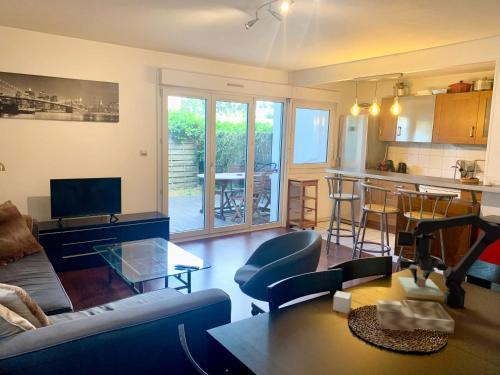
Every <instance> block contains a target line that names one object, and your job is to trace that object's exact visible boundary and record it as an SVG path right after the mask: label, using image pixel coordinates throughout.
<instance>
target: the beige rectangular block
mask: <svg viewBox="0 0 500 375" xmlns="http://www.w3.org/2000/svg"><path fill="white" fill-rule="evenodd" d="M401 307H402V302H400V301H397V300H396V301H395V300H383V299H382V300H381V299H376V310H377V309H378V311H383V312H396V313H401Z"/></svg>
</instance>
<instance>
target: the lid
mask: <svg viewBox="0 0 500 375" xmlns="http://www.w3.org/2000/svg"><path fill="white" fill-rule="evenodd" d="M397 281H398V282H399V283H400V284H401V286H402V288H403V289H404V291H405V292H406V293H407V294H409V295H414V296H415V295H416V296H417V295H418V296H428V297H430V296H431V297H441V296H442V297H444V291H442V290H441V289H440V288H439V287H438V285H436V284H435V283H434V282H433V280H432V279H431V278H427V280H426V279H425V278H424V277H423V274H418V273H417V282H416V283H415V282H414V279H413V277H405V276H397Z"/></svg>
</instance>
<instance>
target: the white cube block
mask: <svg viewBox="0 0 500 375" xmlns="http://www.w3.org/2000/svg"><path fill="white" fill-rule="evenodd" d="M332 304H333V305H332V310H333V311H337V312H339V313H345V314H349V312H350V310H351V307H352V293H350V292H346V291H345V292H344V291H340V290H336V292H335V294H334V295H333V303H332Z"/></svg>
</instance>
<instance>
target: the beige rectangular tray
mask: <svg viewBox="0 0 500 375" xmlns="http://www.w3.org/2000/svg"><path fill="white" fill-rule="evenodd" d="M401 305H402V306H401V313H396V312H383V311H378V309H377V308H376V314H375V315H376V316H375V320H376V319H377V320H376V323H377V322H378V323H377V324H379V325H378V327H379V326H380V327H379V329H380V328H382V329H390V330H389V331H393V330H400V331H399V332H405V331H414V332H415V330H414V328H421V329H430V330H439V331H445V332H444V333H446V332H447V333H449V334H454V330H455V324H456V323H455V319H453V317H452V316H451V315H450V314H449V313H448V312H447V310H446V309H445V308H444V307H443V306H442V305H441V304H440V303H439V302H437V301H435V302H434V301H426V300H425V301H424V300H421V301H420V300H412V299H411V300H410V299H402V300H401ZM382 329H381V330H382Z"/></svg>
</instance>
